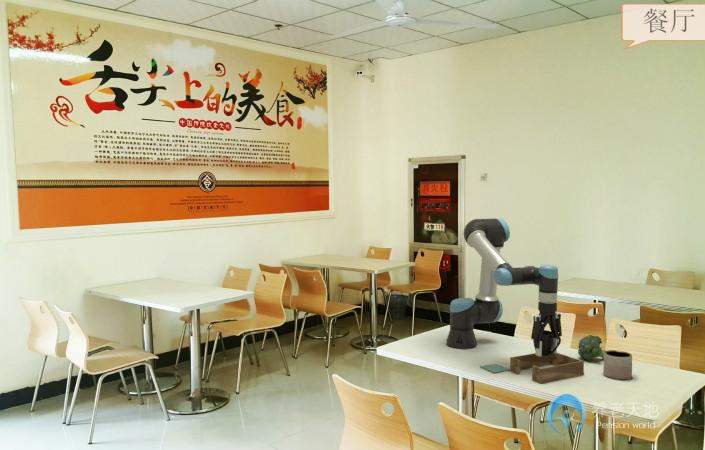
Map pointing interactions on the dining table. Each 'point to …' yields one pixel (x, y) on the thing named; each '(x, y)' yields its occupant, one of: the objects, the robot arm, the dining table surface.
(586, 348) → the vegetable
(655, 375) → the dining table surface
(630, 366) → the planter
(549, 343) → the mug
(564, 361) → the wooden tray frame
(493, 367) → the mat
